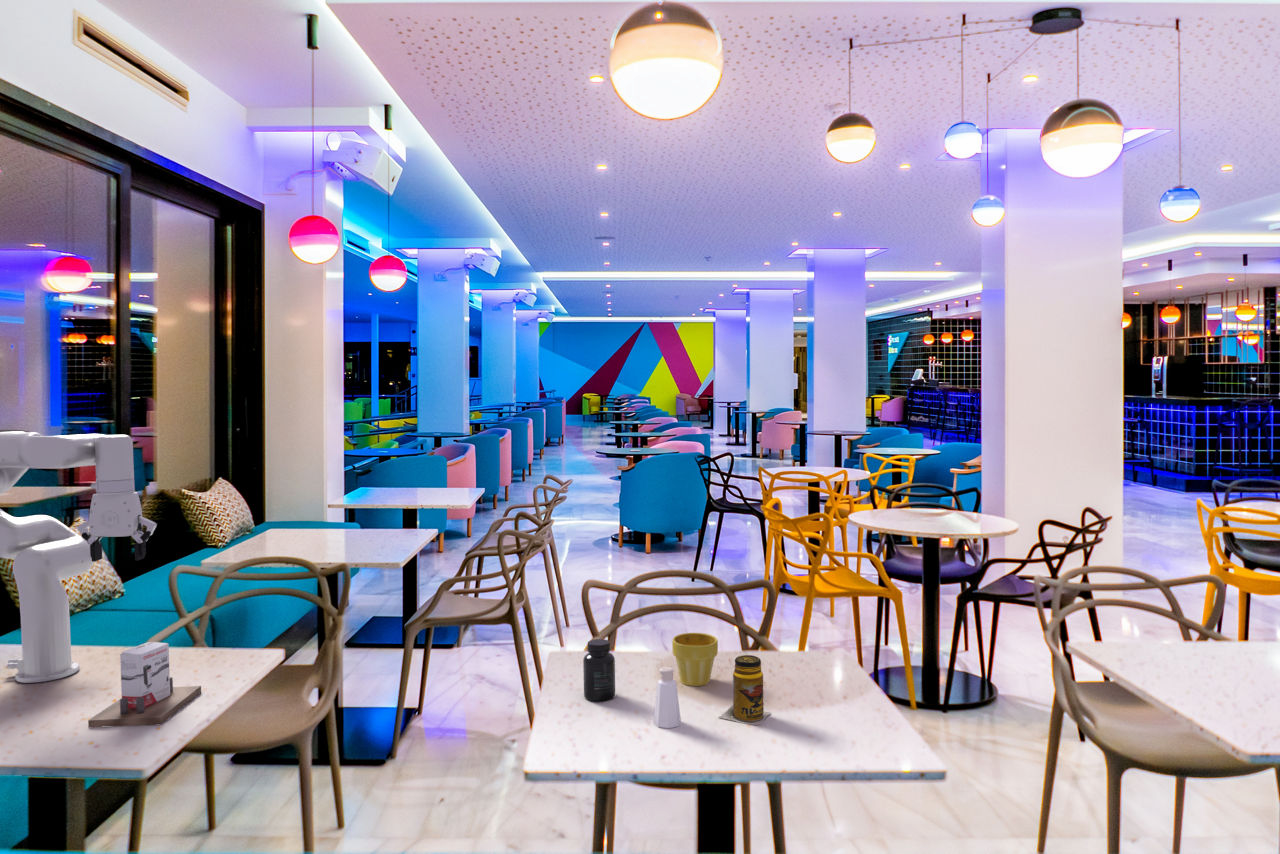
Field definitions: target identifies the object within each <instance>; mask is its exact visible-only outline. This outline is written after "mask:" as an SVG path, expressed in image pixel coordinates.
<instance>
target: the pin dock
mask: <svg viewBox="0 0 1280 854" xmlns="http://www.w3.org/2000/svg"><path fill="white" fill-rule="evenodd" d="M173 679H174V678H173V677H171V676H170V696H168V697H166V698H164V699H162V700H160V701H158V702H156V703H154V704H152V705H150V706H147V707H145V708H144V697H139V698H137V699H136V709H128V698H122V697H120V698H119V699H118V700H117V701H115V702H113V703H112V704H111V705H109V706H107V707H106V708H105V709H103V710H101V711H100V712H99V713H97V714H95V715H94V716H93V717H91V718H89V719H88V721H87V723H88V728H89V727H93V728H103V727H102V726H116V727H134V726H138V725H139V726H156V724H161V725H163V724H164V723H165V722H166V721H168V718H169V717H170V718H172V716H174V715H175V714H176V713H178V712H179V711H180V710H181V709H182V708H183V706H184V705H185V706H187V705H188V704H189V703H190V702H191V701H193V698H194V697H195V696H196V697H197V696H198V694H199V693H200V694H202V686H201V685H190V686H189V685H188V686H174V683H173V682H174V681H173ZM200 694H199V695H200ZM196 697H195V698H196ZM195 698H194V699H195ZM190 700H191V701H190ZM189 701H190V702H189ZM188 702H189V703H188ZM185 706H184V707H185ZM181 707H182V708H181ZM180 708H181V709H180ZM179 709H180V710H179ZM178 710H179V711H178ZM174 713H175V714H174ZM173 714H174V715H173ZM170 718H169V719H170ZM163 722H164V723H163Z"/></svg>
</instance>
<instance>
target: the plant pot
mask: <svg viewBox="0 0 1280 854" xmlns="http://www.w3.org/2000/svg"><path fill="white" fill-rule="evenodd" d="M671 641H672V644H671V647H672V655H674V657H675V661H676V666H677V671H678V675H679V680H680V682H681V684H683V685H686V686H689V687H690V686H691V687H701V686H706V685H707V684H709V682H710V680H711V677H712V676H711V675H712V671H713V666H714V662H715V657H717V656H718V652H719V651H718V650H719V642H718V641H719V640H718V638H717V637H716V636H715V635H712V634H710V633H709V634H708V633H702V632H685V633H679V634H677V635H675V636H674V637H673V638H672V640H671Z"/></svg>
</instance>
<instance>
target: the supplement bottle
mask: <svg viewBox="0 0 1280 854" xmlns="http://www.w3.org/2000/svg"><path fill="white" fill-rule="evenodd" d="M586 649H587V653H586V654H585V655H584V657H583V660H582V661H583V662H582V667H583V697H584V698H585V699H586V700H587V701H589V702H593V703H603V702H608V701H610V700H613V699H614V698H615V696H616V664H615V663H616V659H615V656H614V655H613V654H612V652H610V651H611V642H610V640H608V639H604V638H595V639H590V640H589V641H587V648H586Z"/></svg>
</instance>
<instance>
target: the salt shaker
mask: <svg viewBox="0 0 1280 854" xmlns="http://www.w3.org/2000/svg"><path fill="white" fill-rule="evenodd" d="M674 672H675V671H674V668H673V667H670V666H663V667H660V668H659V677H660V678H659V680H657V682H656V683H657V685H656V694H655V706H654V715H653V724H654V725H655V726H656V727H658V728H662V729H673V728H678V726H680V724H681V723H682V719H681V718H682V717H681V712H680V709H681V708H680V703H679V694H678V687H677V686H678V685H677V681H676V680H675V679H674Z"/></svg>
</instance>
